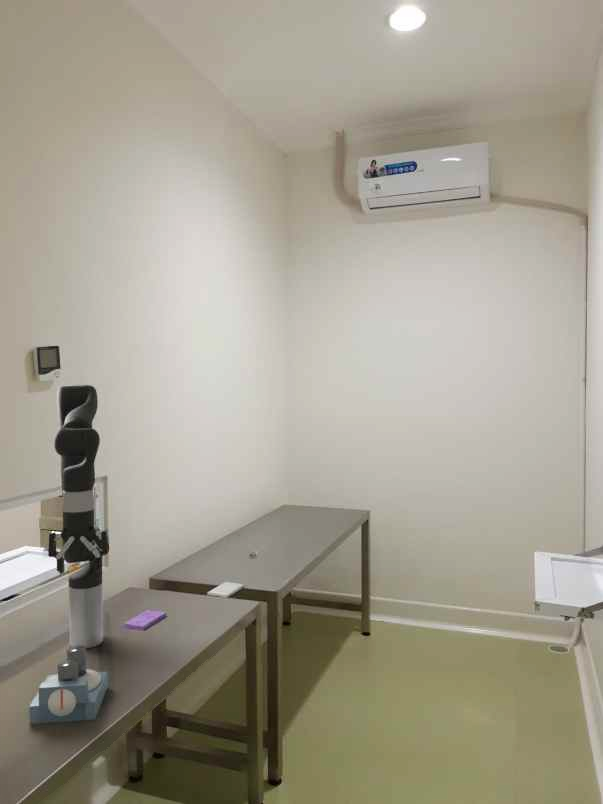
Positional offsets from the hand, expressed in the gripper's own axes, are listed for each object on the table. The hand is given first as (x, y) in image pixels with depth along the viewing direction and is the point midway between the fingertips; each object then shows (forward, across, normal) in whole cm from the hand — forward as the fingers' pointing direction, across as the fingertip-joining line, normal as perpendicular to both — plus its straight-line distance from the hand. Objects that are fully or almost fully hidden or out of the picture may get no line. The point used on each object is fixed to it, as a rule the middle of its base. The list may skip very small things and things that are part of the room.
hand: (79, 572), depth 156 cm
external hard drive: (+29, -36, -65) cm, 80 cm away
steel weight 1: (+24, 0, +5) cm, 24 cm away
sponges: (+29, -11, -39) cm, 50 cm away
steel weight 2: (+24, 0, +13) cm, 27 cm away
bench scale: (+28, 0, +11) cm, 30 cm away
